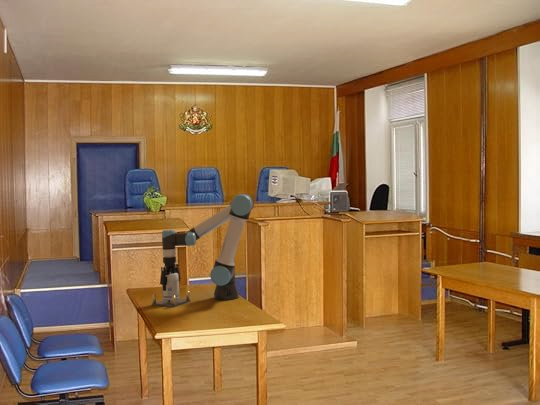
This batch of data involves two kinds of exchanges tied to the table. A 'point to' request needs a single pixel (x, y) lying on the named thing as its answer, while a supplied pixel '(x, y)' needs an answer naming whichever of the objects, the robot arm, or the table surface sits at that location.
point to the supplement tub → (172, 286)
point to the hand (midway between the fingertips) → (171, 294)
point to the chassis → (171, 301)
